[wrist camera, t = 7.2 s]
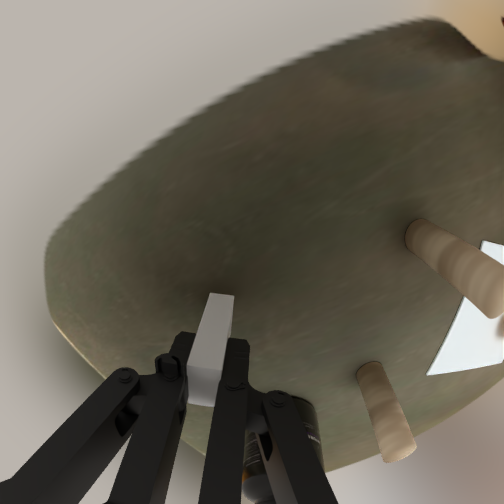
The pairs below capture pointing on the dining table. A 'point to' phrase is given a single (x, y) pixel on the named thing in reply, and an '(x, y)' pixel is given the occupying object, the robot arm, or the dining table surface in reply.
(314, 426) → the supplement bottle
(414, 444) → the post
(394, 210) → the dining table surface
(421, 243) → the post
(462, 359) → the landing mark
